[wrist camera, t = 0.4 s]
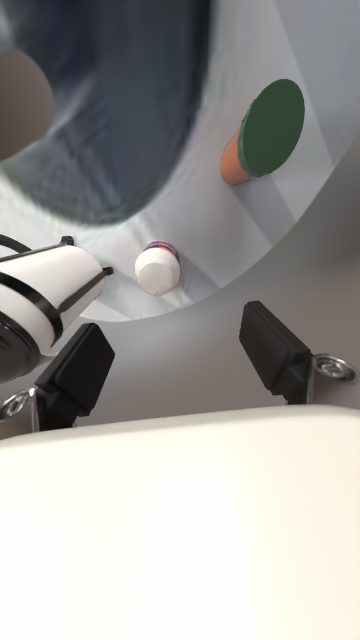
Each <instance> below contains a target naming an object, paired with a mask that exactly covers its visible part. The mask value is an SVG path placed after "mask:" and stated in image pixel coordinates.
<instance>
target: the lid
mask: <svg viewBox="0 0 360 640" xmlns="http://www.w3.org/2000/svg"><path fill="white" fill-rule="evenodd" d="M304 113H305V107H304V99H303V95H302V92H301V90H300V88H299V87H298V85H297V84H296V83H295V82H293V81H291V80H288V79H280V80H277V81H275V82H273V83H271V84H270V85H268V86H267V87H266V88H265V89H264V90H263V91H262V92H261V93H260V94H259V96H258V97H257V98H256V99H255V100H254V101H253V102H252V104H251V105H250V108H249V110H248V111H247V113H246V115H245V117H244V119H243V121H242V122H241V123H242V124H241V127H240V131H239V135H238V139H237V140H238V142H237V153H238V155H237V156H238V159H239V162H240V165H241V168H242V169H243V170H244V171H245V172H246V173H247V174H248V176H249V175H250V176H253V177H257V178H258V177H260V176H263V175H266V174H270V173H272V172H273V171H274V170H276V169H277V168H279V167H280V166H281V165H282V164H283V163H284V162H285V161H286V160H287V159H288V157H289V156H290V154H291V153H292V151H293V150H294V148H295V146H296V144H297V142H298V139H299V137H300V134H301V131H302V127H303V122H304Z"/></svg>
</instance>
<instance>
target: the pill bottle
mask: <svg viewBox="0 0 360 640" xmlns="http://www.w3.org/2000/svg"><path fill="white" fill-rule="evenodd" d="M135 275H136V278H137V280H138V282H139V284H140V286H141V287H142V289H143V290H144V291H145V292H146V293H148V294H150V295H153V296H161V295H164V294H166V293H168V292H170V291H171V290H173V289H174V288H175V287H176V285H177V284H178V282H179V279H180V264H179V257H178V253H177V251H176V249H175V248H174V246H173V245H172V244H170V243H169V242H167V241H163V240H157V241H154V242H152V243H151V244H149V245H148V246H147V248H146V249H145V250H144V251H143V252H142V253H141V255H140V256H139V257H138V259H137V261H136V264H135Z"/></svg>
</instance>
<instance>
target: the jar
mask: <svg viewBox="0 0 360 640" xmlns="http://www.w3.org/2000/svg"><path fill="white" fill-rule="evenodd" d="M239 131H240V128H239V129H238V130H237V132H236V133H235V134H234V136H233V137H232V138H231V140H230V141H229V142H228V144H227V145H226V147H225V148H224V151H223V153H222V157H221V163H220V168H221V174H222V177H223V179H224V180H225V181H226V182H227V183H228V184H231V185H237V184H239V183H241V182H243V181H246V180H248V179H250V178H252V177H253V176H250V175H249V176H248V174H247V173H246V172H245V171H244V170H243V169H242V168H241V165H240V162H239V159H238V156H237V155H238V153H237V142H238V140H237V139H238V135H239Z"/></svg>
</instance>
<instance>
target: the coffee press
mask: <svg viewBox="0 0 360 640" xmlns="http://www.w3.org/2000/svg"><path fill="white" fill-rule="evenodd" d="M65 244H67V245H65ZM0 245H2V246H6V247H8V248H11V249H13V250H15V251H16V252H18V253H19V254H15V255H11V256H7V257H3V258H0V384H4V383H7V382H9V381H12V380H14V379H16V378H17V377H21V376H24V375H26V374H28V373H30V372H31V371H32V370H33V369H34V368H37V367H40V366H42V365H45V364H47V363H49V362H51V361H53V359H54V358H55V357H56V356H57V355H58V353H57V352H55V351H53V350H52V349H51V347H52V346H53V345H54V344H55V343H56V342H57V341H58V340H59V339H60V337H61V336H62V334H63V332H64V331H65V330H66V329H67V328H68V327H69V326H70V325H71V324H72V323H73V321H74V320H75V319H76V318H77V317H78V316H79V315H80V314H81V313H82V312H83V311H84V310H85V309H86V308H87V307H88V305H89V304H90V303H91V302H92V301H93V300H95V299H96V297H97V296H98V295H99V294H100V292H101V291H102V290H103V288H104V285H105V276H108V275H111V274H113V269H112V267H107V268H101V266H100V265H99V263H98V262H97V261H96V259H95V258H94V257H92V256H91V255H90V254H89V253H87V252H86V251H84V250H82V249H80V248H78V247H74V241H73V238H72V237H71V236H62V239H61V242H60V243H59V244H57V245H53V246H49V247H45V248H41V249H36V250H31V249H30V248H28V247H26V246H25V245H23V244H21V243H20V242H18V241H16V240H14V239H11V238H9V237H7V236H4V235H1V234H0Z"/></svg>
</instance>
